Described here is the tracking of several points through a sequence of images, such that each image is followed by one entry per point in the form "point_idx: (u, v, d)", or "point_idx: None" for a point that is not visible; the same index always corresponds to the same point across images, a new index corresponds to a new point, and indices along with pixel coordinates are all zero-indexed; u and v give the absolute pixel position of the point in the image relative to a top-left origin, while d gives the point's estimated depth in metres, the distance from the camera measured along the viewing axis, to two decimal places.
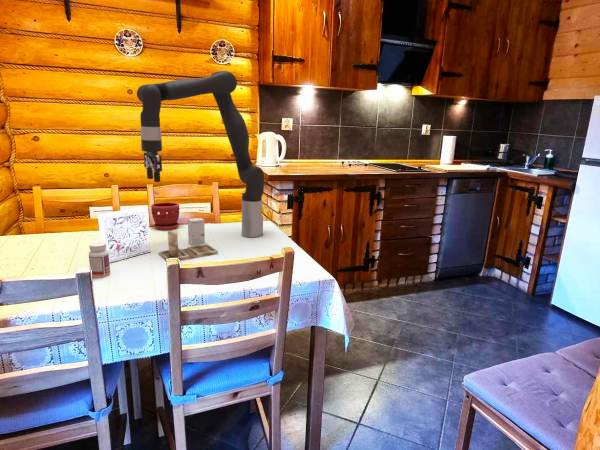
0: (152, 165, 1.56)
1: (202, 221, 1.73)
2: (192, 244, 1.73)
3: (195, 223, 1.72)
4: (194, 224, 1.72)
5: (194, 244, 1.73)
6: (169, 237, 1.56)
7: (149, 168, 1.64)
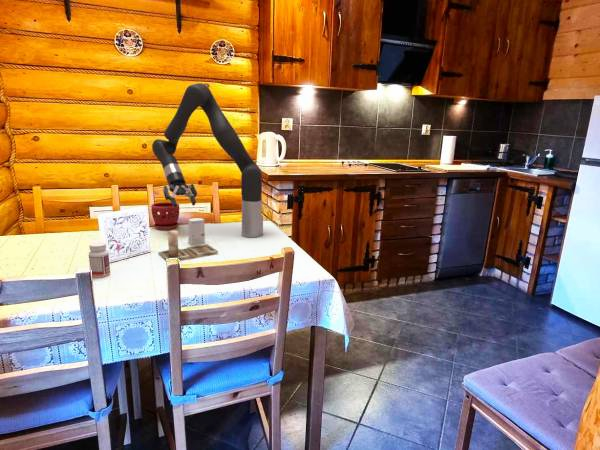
0: None
1: (202, 221, 1.73)
2: (192, 244, 1.73)
3: (195, 223, 1.72)
4: (194, 224, 1.72)
5: (194, 244, 1.73)
6: (169, 237, 1.56)
7: (190, 197, 1.85)
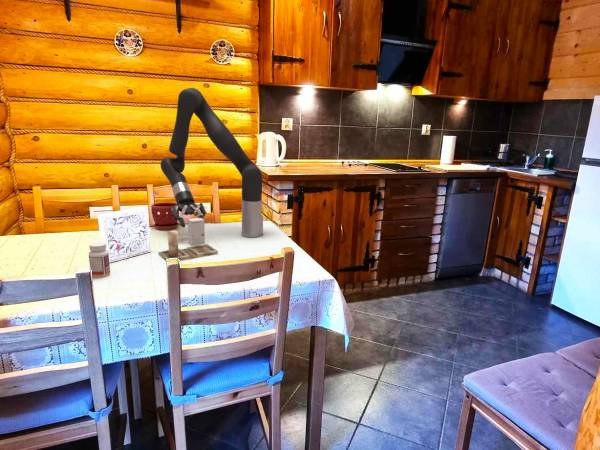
0: None
1: (202, 221, 1.73)
2: (192, 244, 1.73)
3: (195, 223, 1.72)
4: (194, 224, 1.72)
5: (194, 244, 1.73)
6: (169, 237, 1.56)
7: (199, 216, 1.80)
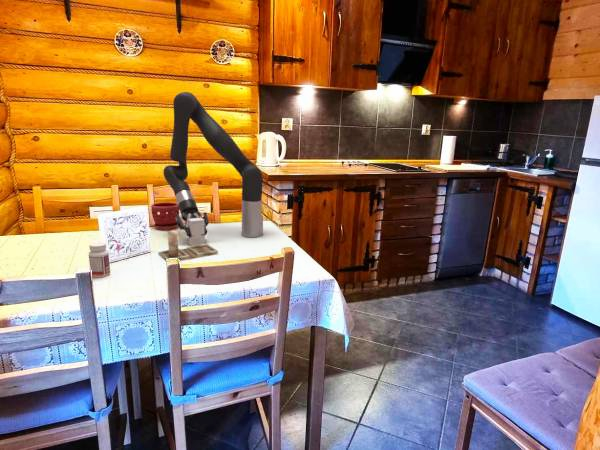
0: (184, 225, 1.75)
1: (202, 221, 1.73)
2: (192, 244, 1.73)
3: (195, 223, 1.72)
4: (194, 224, 1.72)
5: (194, 244, 1.73)
6: (169, 237, 1.56)
7: None
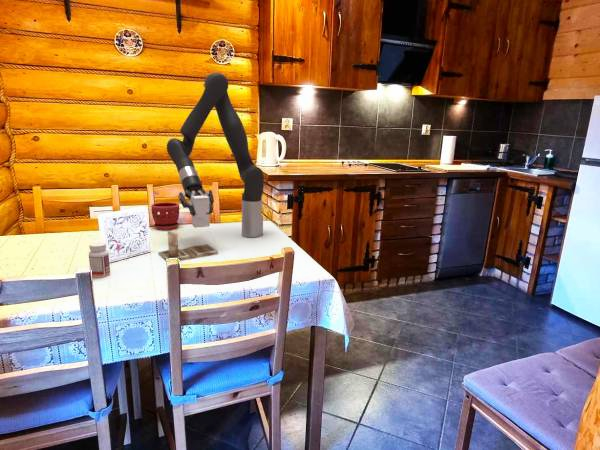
0: None
1: (207, 198, 1.61)
2: (196, 223, 1.61)
3: (200, 200, 1.60)
4: (199, 201, 1.60)
5: (198, 223, 1.61)
6: (169, 237, 1.56)
7: None
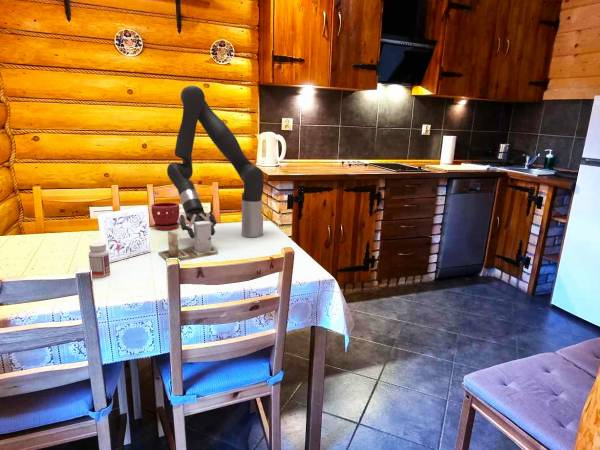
0: None
1: (209, 224, 1.64)
2: (198, 249, 1.64)
3: (202, 226, 1.63)
4: (201, 227, 1.62)
5: (200, 249, 1.64)
6: (169, 237, 1.56)
7: None
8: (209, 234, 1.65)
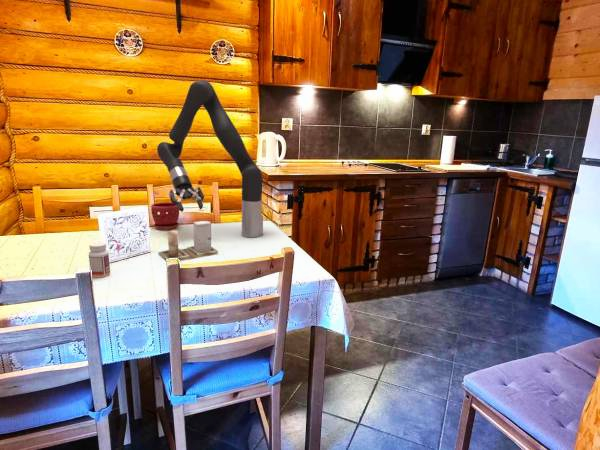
0: None
1: (209, 224, 1.64)
2: (198, 249, 1.64)
3: (202, 226, 1.63)
4: (201, 227, 1.62)
5: (200, 249, 1.64)
6: (169, 237, 1.56)
7: (197, 200, 1.80)
8: (209, 234, 1.65)
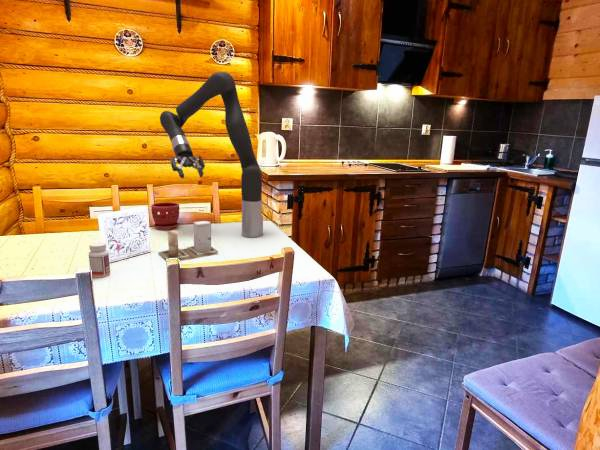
0: None
1: (209, 224, 1.64)
2: (198, 249, 1.64)
3: (202, 226, 1.63)
4: (201, 227, 1.62)
5: (200, 249, 1.64)
6: (169, 237, 1.56)
7: (198, 168, 1.82)
8: (209, 234, 1.65)
